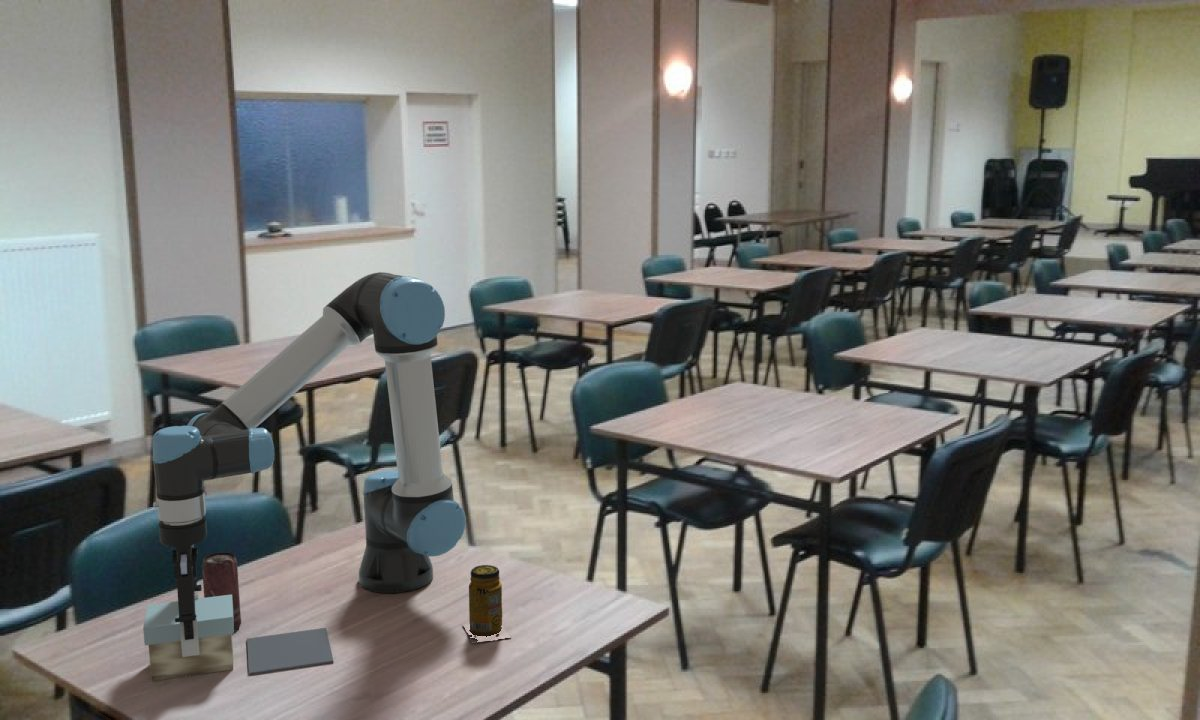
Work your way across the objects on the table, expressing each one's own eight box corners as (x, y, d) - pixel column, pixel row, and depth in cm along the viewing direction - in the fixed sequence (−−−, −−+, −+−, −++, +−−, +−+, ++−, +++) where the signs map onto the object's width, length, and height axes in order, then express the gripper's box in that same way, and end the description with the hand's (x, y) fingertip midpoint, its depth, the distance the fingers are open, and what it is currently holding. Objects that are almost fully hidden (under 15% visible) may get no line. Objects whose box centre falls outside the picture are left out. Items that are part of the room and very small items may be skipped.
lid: (234, 623, 193) (232, 594, 192) (234, 647, 184) (232, 616, 183) (149, 634, 189) (147, 605, 188) (145, 659, 180) (143, 628, 179)
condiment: (499, 620, 205) (498, 560, 203) (511, 639, 198) (510, 576, 195) (461, 626, 203) (460, 565, 201) (472, 645, 195) (470, 582, 193)
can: (231, 636, 198) (226, 564, 196) (200, 633, 200) (194, 561, 197) (248, 623, 204) (244, 552, 202) (218, 620, 205) (213, 550, 203)
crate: (232, 649, 193) (230, 612, 192) (233, 669, 186) (230, 631, 184) (154, 660, 189) (151, 623, 188) (151, 681, 182) (148, 642, 180)
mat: (326, 629, 201) (326, 627, 201) (333, 662, 188) (333, 660, 188) (247, 640, 197) (246, 638, 197) (249, 675, 184) (248, 672, 184)
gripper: (161, 500, 192) (171, 618, 196) (154, 543, 171) (165, 674, 175) (206, 496, 194) (215, 612, 198) (205, 538, 173) (214, 667, 177)
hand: (191, 641), depth 187 cm, fingers closed on lid, 10 cm apart
